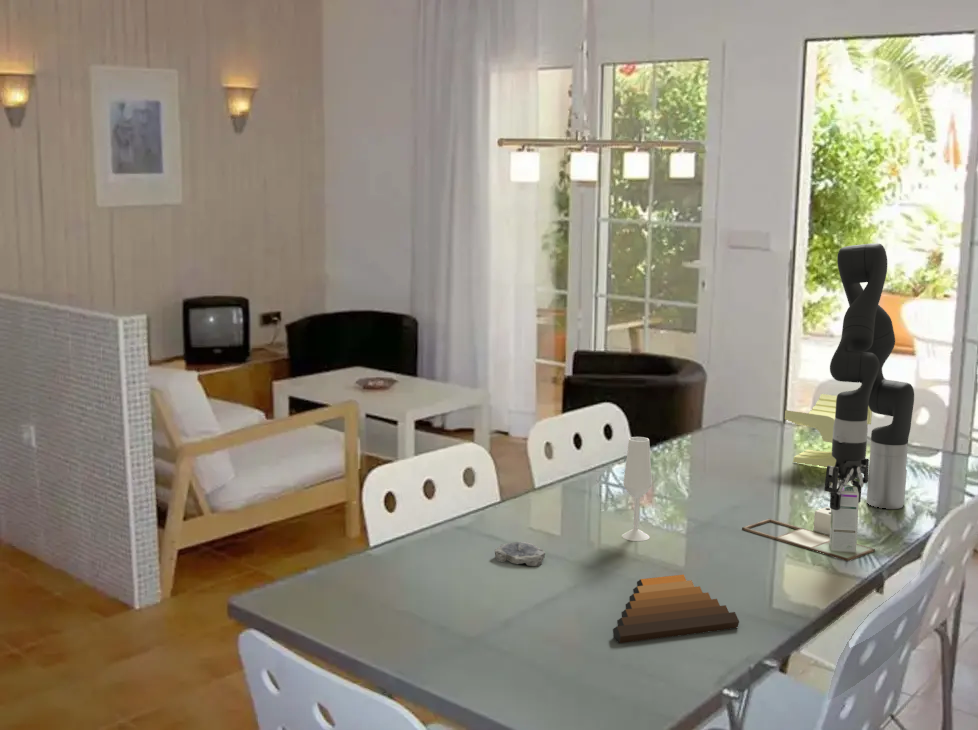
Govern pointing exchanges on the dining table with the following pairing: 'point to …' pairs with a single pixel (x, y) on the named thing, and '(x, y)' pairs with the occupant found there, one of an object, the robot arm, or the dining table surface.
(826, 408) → the slatted curved stool
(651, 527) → the dining table surface
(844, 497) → the syrup box
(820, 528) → the die
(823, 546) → the board
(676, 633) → the pan flute
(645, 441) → the champagne flute
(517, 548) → the grey stone dish
